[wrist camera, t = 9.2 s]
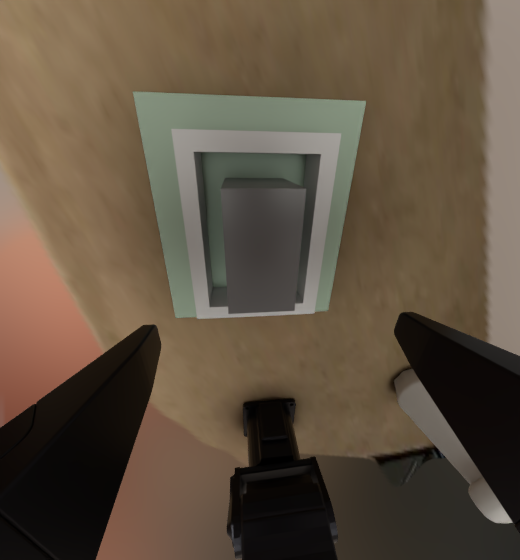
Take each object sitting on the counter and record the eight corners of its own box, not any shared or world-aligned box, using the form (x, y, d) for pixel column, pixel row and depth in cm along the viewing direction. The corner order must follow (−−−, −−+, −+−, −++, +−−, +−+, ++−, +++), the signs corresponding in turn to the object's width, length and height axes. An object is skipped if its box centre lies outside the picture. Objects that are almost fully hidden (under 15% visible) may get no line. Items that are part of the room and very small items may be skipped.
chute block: (278, 269, 20) (294, 310, 14) (230, 270, 19) (228, 313, 14) (283, 178, 16) (306, 188, 11) (225, 177, 16) (220, 188, 11)
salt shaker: (438, 378, 30) (562, 512, 19) (399, 399, 32) (492, 537, 20) (421, 355, 28) (551, 493, 16) (379, 380, 29) (472, 523, 18)
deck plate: (324, 304, 23) (340, 331, 19) (178, 311, 22) (167, 341, 18) (358, 104, 16) (395, 88, 12) (138, 95, 14) (107, 75, 11)
